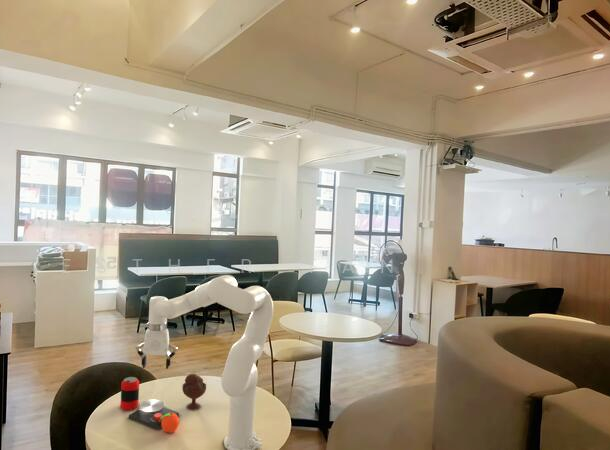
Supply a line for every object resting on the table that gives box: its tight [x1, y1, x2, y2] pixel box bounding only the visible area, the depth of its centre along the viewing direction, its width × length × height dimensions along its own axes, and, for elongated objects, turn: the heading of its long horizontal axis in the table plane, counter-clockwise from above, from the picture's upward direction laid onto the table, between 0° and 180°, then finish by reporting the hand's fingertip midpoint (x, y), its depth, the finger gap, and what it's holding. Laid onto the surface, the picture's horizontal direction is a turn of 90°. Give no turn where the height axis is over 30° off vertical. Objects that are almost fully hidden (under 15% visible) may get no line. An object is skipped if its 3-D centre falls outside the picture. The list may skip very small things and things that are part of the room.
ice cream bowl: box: [181, 373, 207, 411], centre depth 165 cm, size 11×11×15 cm
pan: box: [137, 398, 165, 414], centre depth 157 cm, size 11×11×1 cm
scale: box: [128, 406, 180, 431], centre depth 155 cm, size 16×14×3 cm
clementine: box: [159, 413, 180, 433], centre depth 145 cm, size 8×7×7 cm
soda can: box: [120, 376, 140, 411], centre depth 163 cm, size 8×8×12 cm
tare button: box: [154, 413, 162, 421], centre depth 149 cm, size 3×3×2 cm
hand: (155, 367), depth 154 cm, fingers open, 9 cm apart
